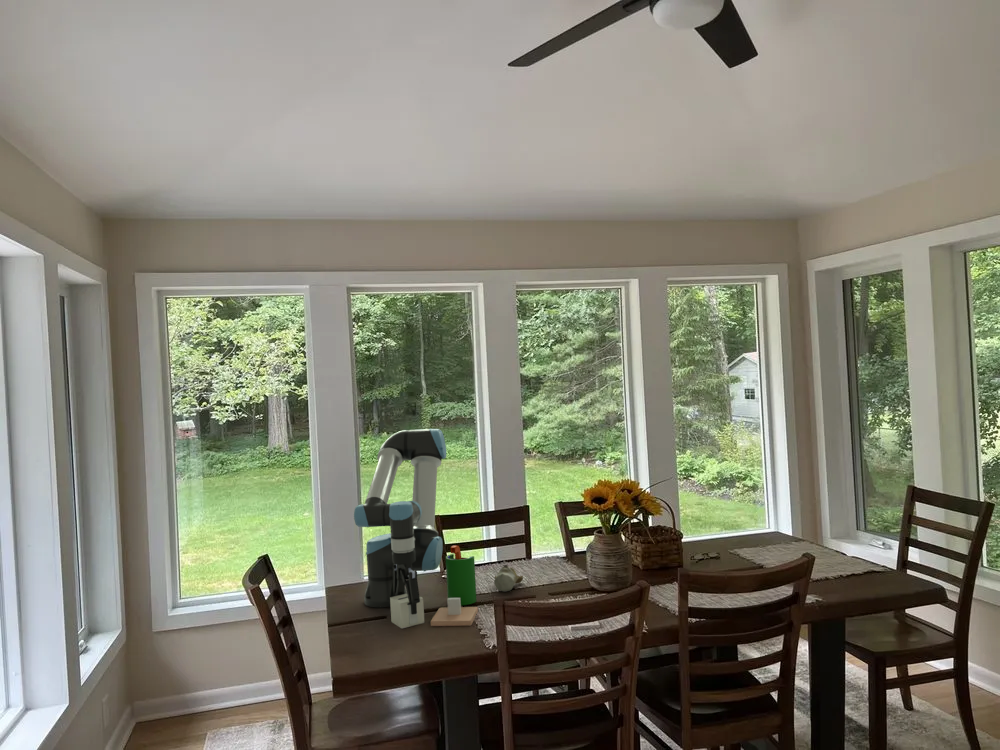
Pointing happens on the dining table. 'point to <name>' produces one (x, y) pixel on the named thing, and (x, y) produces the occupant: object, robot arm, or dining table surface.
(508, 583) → the ceramic sculpture
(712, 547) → the dining table surface
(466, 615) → the base
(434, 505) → the robot arm
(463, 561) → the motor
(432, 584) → the dining table surface
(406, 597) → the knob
